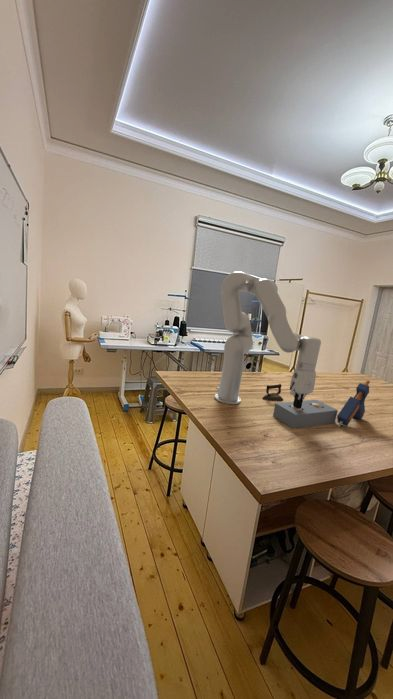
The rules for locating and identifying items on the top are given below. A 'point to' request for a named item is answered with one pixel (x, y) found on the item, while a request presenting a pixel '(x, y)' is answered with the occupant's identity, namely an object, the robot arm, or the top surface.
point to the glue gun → (354, 405)
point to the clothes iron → (273, 395)
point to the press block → (304, 414)
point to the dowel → (316, 405)
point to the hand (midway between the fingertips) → (296, 407)
